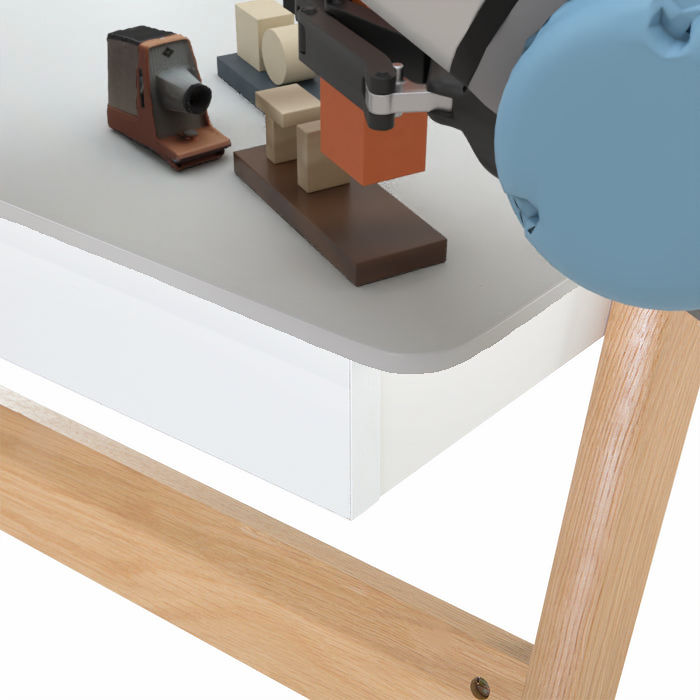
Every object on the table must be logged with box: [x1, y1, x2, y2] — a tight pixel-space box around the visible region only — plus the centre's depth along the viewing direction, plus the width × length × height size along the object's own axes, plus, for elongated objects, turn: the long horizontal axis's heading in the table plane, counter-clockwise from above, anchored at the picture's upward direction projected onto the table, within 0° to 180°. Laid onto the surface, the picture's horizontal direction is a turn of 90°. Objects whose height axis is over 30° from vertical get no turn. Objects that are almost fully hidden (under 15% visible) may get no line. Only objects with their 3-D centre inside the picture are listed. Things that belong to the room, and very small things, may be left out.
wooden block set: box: [216, 0, 320, 109], centre depth 88 cm, size 16×6×6 cm, turn 29°
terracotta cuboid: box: [320, 0, 429, 186], centre depth 65 cm, size 5×4×15 cm
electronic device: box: [106, 24, 232, 172], centre depth 82 cm, size 4×10×8 cm, turn 39°
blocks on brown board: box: [232, 84, 448, 287], centre depth 75 cm, size 16×6×6 cm, turn 29°
